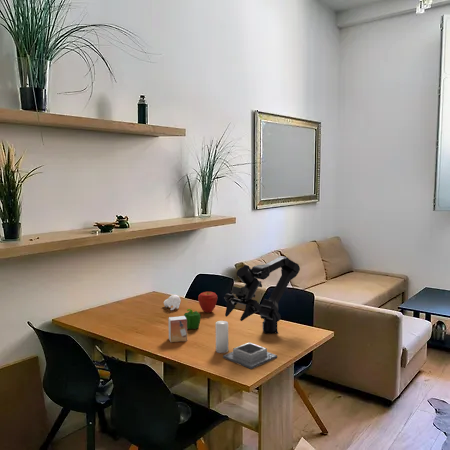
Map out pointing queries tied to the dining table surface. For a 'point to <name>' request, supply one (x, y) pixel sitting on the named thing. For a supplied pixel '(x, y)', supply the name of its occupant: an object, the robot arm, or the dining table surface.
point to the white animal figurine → (172, 302)
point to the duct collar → (250, 355)
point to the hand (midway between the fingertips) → (233, 318)
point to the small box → (177, 329)
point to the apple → (207, 301)
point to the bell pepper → (192, 319)
